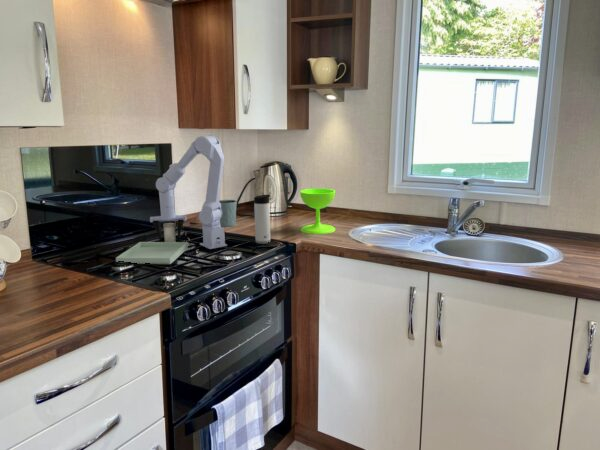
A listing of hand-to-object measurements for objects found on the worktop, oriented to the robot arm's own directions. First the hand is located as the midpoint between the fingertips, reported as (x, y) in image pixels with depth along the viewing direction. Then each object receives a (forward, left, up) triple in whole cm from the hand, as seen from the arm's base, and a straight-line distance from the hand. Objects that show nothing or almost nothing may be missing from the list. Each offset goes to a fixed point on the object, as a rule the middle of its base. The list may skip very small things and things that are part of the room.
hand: (169, 238), depth 200 cm
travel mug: (-24, -31, -2) cm, 39 cm away
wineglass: (-22, -62, -2) cm, 66 cm away
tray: (-14, +12, -2) cm, 19 cm away
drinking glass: (+13, -34, -2) cm, 36 cm away
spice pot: (0, 0, -2) cm, 2 cm away
